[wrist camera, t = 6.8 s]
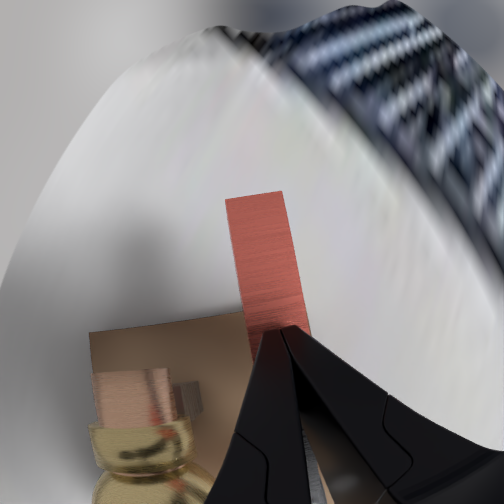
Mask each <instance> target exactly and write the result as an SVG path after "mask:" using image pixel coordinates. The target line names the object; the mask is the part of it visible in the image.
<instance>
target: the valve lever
mask: <svg viewBox="0 0 504 504" xmlns="http://www.w3.org/2000/svg"><path fill="white" fill-rule="evenodd" d="M225 204H226V212H227V220H228V226H229V232H230V238H231V244H232V250H233V256H234V262H235V268H236V274H237V279H238V285H239V291H240V297H241V302H242V308H243V314H244V319H245V325H246V330H247V336H248V341H249V347H250V352H251V358H252V363H253V365H254V361H255V358H256V354H257V351H258V347H259V344H260V340H261V337H262V333H263V331H265V330H269V329H274V328H278V329H279V330H280V328H281V327H285V326H290V325H297V326H298V327H299V328H301V329H302V330H303V331H305V332H306V333H307V334H309V335H310V332H309V326H308V320H307V315H306V309H305V304H304V298H303V293H302V288H301V282H300V277H299V272H298V267H297V261H296V256H295V251H294V246H293V241H292V236H291V231H290V227H289V222H288V217H287V212H286V208H285V203H284V198H283V194H282V191H278V192H271V193H264V194H257V195H250V196H244V197H237V198H231V199H225ZM301 425H302V424H301ZM302 432H303V440H304V447H305V454H306V462H307V470H308V477H309V485H310V493H311V501H312V504H327V499H326V495H325V491H324V487H323V484H322V481H321V478H320V475H319V472H318V465H317V460H316V458H315V456H314V453H313V451H312V448H311V446H310V443H309V441H308V438H307V436H306V434H305V431H304V429H303V426H302Z"/></svg>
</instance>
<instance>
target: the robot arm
mask: <svg viewBox="0 0 504 504" xmlns="http://www.w3.org/2000/svg"><path fill="white" fill-rule="evenodd" d="M301 424H302V425H301ZM302 426H303V429H304V431H305V434H306V436H307V438H308V441H309V443H310V446H311V448H312V451H313V453H314V456H315V458H316V460H317V463H318V465H319V468H320V470H321V473H322V475H323V477H324V480H325V482H326V485H327V487H328V489H329V492H330V494H331V497H332V499H333V501H334V504H504V451H497V450H492V449H489V448H485V447H483V446H480V445H478V444H476V443H474V442H472V441H470V440H467V439H465V438H463V437H461V436H459V435H457V434H455V433H454V432H452V431H450V430H448V429H446V428H444V427H442V426H440V425H438V424H436V423H434V422H432V421H431V420H429V419H427V418H425V417H424V416H422V415H420V414H418V413H417V412H415V411H414V410H412V409H411V408H409V407H408V406H406V405H405V404H403V403H402V402H400V401H399V400H397V399H396V398H395V397H393V396H392V395H388V393H387V392H386V391H385V390H383V389H382V388H380V387H379V386H378V385H376V384H375V383H374V382H372V381H371V380H369V379H368V378H367V377H365V376H364V375H363V374H361V373H360V372H358V371H357V370H356V369H354V368H353V367H352V366H350V365H349V364H348V363H346V362H345V361H343V360H342V359H341V358H339V357H338V356H337V355H335V354H334V353H333V352H331V351H330V350H329V349H327V348H326V347H325V346H323V345H322V344H321V343H319V342H318V341H317V340H315V339H314V338H313V337H311V336H310V335H309V334H307V333H306V332H305V331H303V330H302V329H301V328H299V327H298V326H297V325H290V326H285V327H281V328H280V330H279V329H278V328H274V329H269V330H265V331H263V333H262V337H261V340H260V344H259V347H258V351H257V354H256V358H255V361H254V365H253V368H252V372H251V375H250V379H249V382H248V385H247V389H246V392H245V396H244V399H243V402H242V406H241V409H240V412H239V416H238V419H237V422H236V426H235V429H234V432H235V433H233V435H232V438H231V441H230V444H229V447H228V450H227V453H226V456H225V458H224V461H223V464H222V466H221V469H220V471H219V473H218V475H217V477H216V479H215V482H214V484H213V486H212V488H211V490H210V492H209V493H208V495H207V497H206V499H205V501H204V503H203V504H312V501H311V493H310V485H309V477H308V470H307V462H306V454H305V447H304V440H303V432H302Z"/></svg>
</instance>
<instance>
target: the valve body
mask: <svg viewBox="0 0 504 504" xmlns="http://www.w3.org/2000/svg"><path fill="white" fill-rule="evenodd" d="M91 380H92V387H93V394H94V400H95V406H96V412H97V417H98V421H97V422H93V423H91V424H89V425H88V429H89V434H90V439H91V443H92V448H93V452H94V456H95V460H96V464H97V466H98V467H99V468H101V469H103V470H105V471H104V472H103V473H102V475H101V476H100V478H99V480H98V481H97V483H96V485H95V488H94V491H93V496H92V504H203V503H204V501H205V499H206V497H207V495H208V493H209V492H210V490H211V488H212V486H213V484H214V482H215V478H214V477H213V476H212V475H211V474H210V473H209V472H208V471H207V470H205V469H204V468H203V467H201V466H200V465H198V464H196V463H195V462H193V461H192V460H194V459H195V458H196V457H197V455H198V454H197V450H196V445H195V440H194V436H193V431H192V426H191V422H192V421H193V420H194V419H195V418H197V417H198V416H199V415H200V414H201V413H202V412H203V411H204V409H203V404H202V399H201V393H200V388H199V382H198V381H191V382H183V383H174V384H172V382H171V376H170V369H169V368H157V369H144V370H130V371H116V372H102V373H91Z"/></svg>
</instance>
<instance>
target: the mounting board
mask: <svg viewBox="0 0 504 504" xmlns="http://www.w3.org/2000/svg"><path fill="white" fill-rule="evenodd" d="M304 304H305V303H304ZM305 309H306V307H305ZM306 315H307V312H306ZM307 320H308V316H307ZM308 326H309V321H308ZM309 332H310V336H311V337H312V335H311V330H310V326H309ZM89 339H90V350H91V359H92V367H93V373H102V372H116V371H130V370H144V369H157V368H169V369H170V376H171V382H172V384H174V383H183V382H191V381H198V382H199V388H200V393H201V399H202V404H203V409H204V411H203V412H202V413H201V414H200V415H199V416H198V417H197V418H195V419H194V420H193V421H192V422H191V426H192V431H193V436H194V440H195V445H196V450H197V454H198V455H197V457H196V458H195V459H194V460H192V461H193V462H195V463H196V464H198V465H200V466H201V467H203V468H204V469H205V470H207V471H208V472H209V473H210V474H211V475H212V476H213V477H214V478H215V479H216V477H217V475H218V473H219V471H220V469H221V466H222V464H223V461H224V458H225V456H226V453H227V450H228V447H229V444H230V441H231V438H232V435H233V433H235V432H234V429H235V426H236V422H237V419H238V416H239V412H240V409H241V406H242V402H243V399H244V396H245V392H246V389H247V385H248V382H249V379H250V375H251V372H252V368H253V363H252V358H251V352H250V347H249V341H248V336H247V330H246V325H245V319H244V314H243V311H242V312H236V313H230V314H224V315H218V316H211V317H205V318H199V319H192V320H185V321H178V322H172V323H164V324H157V325H150V326H142V327H134V328H126V329H118V330H109V331H100V332H90V333H89ZM317 465H318V463H317ZM318 472H319V475H320V478H321V481H322V484H323V487H324V491H325V495H326V499H327V504H334V501H333V499H332V497H331V494H330V492H329V489H328V487H327V485H326V482H325V480H324V477H323V475H322V473H321V470H320V468H319V465H318Z"/></svg>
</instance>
